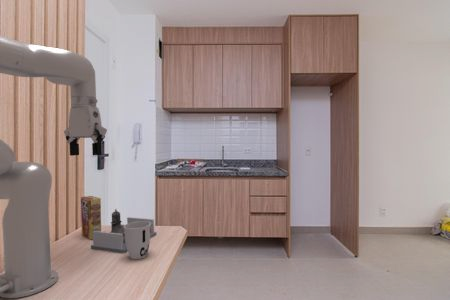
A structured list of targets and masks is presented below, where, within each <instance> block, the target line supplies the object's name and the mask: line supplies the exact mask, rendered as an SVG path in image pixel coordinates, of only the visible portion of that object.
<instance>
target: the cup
mask: <svg viewBox="0 0 450 300" xmlns="http://www.w3.org/2000/svg"><path fill="white" fill-rule="evenodd" d="M150 232H151V223H150V222H147V221H137V222H132V223H128V224H127V223H126V224H124V234H125V241H126V246H127V250H128V251H127V253H128V255H129V258H130V259H131V260H141V259H143V258H144V259H145V258H146V257H147V256H148V253H149V249H150V243H151V242H150V241H151V238H150Z"/></svg>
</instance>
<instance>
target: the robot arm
mask: <svg viewBox="0 0 450 300" xmlns="http://www.w3.org/2000/svg"><path fill="white" fill-rule="evenodd" d="M0 74H4V75H9V76H13V77H19V78H45V80H47V81H48V82H50V83H52V84H54V85H59V86H61V85H64V86H69V91H70V93H69V94H70V109H69V115H68V127H67V128H66V129H64V130H63V134H64V136H65V139H66V141H67V144H69V145H68V146H69V156H71V157H72V156H79V155H80V143H78V142H79V140H80V138H81V139H82V138H83V139H87V138H90V139H91V140H92V141H93V142H92V144H91V146H92V147H91V149H92V155H93V156H101V155H102V143H103V142H104V139H105V138H106V134H107V132H108V129H107V128H106V127H103V125H102V119H101V113H100V109H99V107H97V103H98V99H97V87H96V86H97V85H96V83H97V81H96V71H95V67H94V66H93V65H92V62H91V61H90V60H89V59H88V58H87V57H86V56H83V55H81V54H79V53H76V52H74V51H70V50H65V49H64V48H63V49H62V48H55V47H51V46H44V45H39V44H35V43H34V44H33V43H27V42H22V41H19V40H16V39H13V38H9V37H7V36H4V35H0ZM52 178H53V177H52V174H51V171H50V170H49V168H47V167H46V166H45V165H43V164H41V163H38V162H33V161H16V154H15V152H14V150H13V149H12V148H11V146H9V144H7V143H6V142H5V141H3V140H2V139H0V200H8V201H7V202H8V203H7V204H6V205H7V206H6V207H5V209H4V212H3V214H2V215H3V216H2V219H1V220H2V223H1V224H2V240H3V242H2V243H3V256H4V257H3V259H4V260H3V261H4V273H2V274H0V298H3V299H18V298H24V297H27V296H31V295H34V294H38V293H40V292H42V291H44V290H46V289H49V288H50V287H51V286H53V285H54V284H56V283H57V281H58V280H59V273H58V272H57V271H56V270H54V269H52V265H51V261H52V260H51V259H52V258H51V241H50V239H51V238H50V215H49V212H50V211H49V209H50V208H49V204H50V203H49V202H50V194H51V189H52V181H53V179H52Z"/></svg>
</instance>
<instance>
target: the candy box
mask: <svg viewBox="0 0 450 300" xmlns="http://www.w3.org/2000/svg"><path fill="white" fill-rule="evenodd" d="M101 200H102V199H101V197H99V196H98V197H96V196H94V195H85V196H81V197H80V212H81V214H80V216H81V219H80V220H81V236H83V237H84V238H87V239H89V240H92V241H93V231H101V232H102V203H101V202H102V201H101Z"/></svg>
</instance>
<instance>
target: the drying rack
mask: <svg viewBox="0 0 450 300" xmlns="http://www.w3.org/2000/svg"><path fill="white" fill-rule="evenodd" d="M137 221H147V222H150V223H151V232H150V239H151V238H153V237H155V236H156V235H157V231H155V219H154V218H144V217H142V218H141V217H130V216H129V217H127V218H126V222H127V223H126V224H128V223H132V222H137ZM110 224H111V223H110ZM124 225H125V224H122V223H121V229H122V230H124ZM110 226H111V229H112V224H111V225H110ZM110 232H111V231H109V232H108V231H107V232H106V231H102V230H101V231H93V239H92V245H90V249H92V250H96V251H97V250H99V251H107V252H114V253H121V254H125V253H128V250H127V246H126V241H125V235H124V237H123V234H119V233H110ZM123 240H124V241H125V243H123Z"/></svg>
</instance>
